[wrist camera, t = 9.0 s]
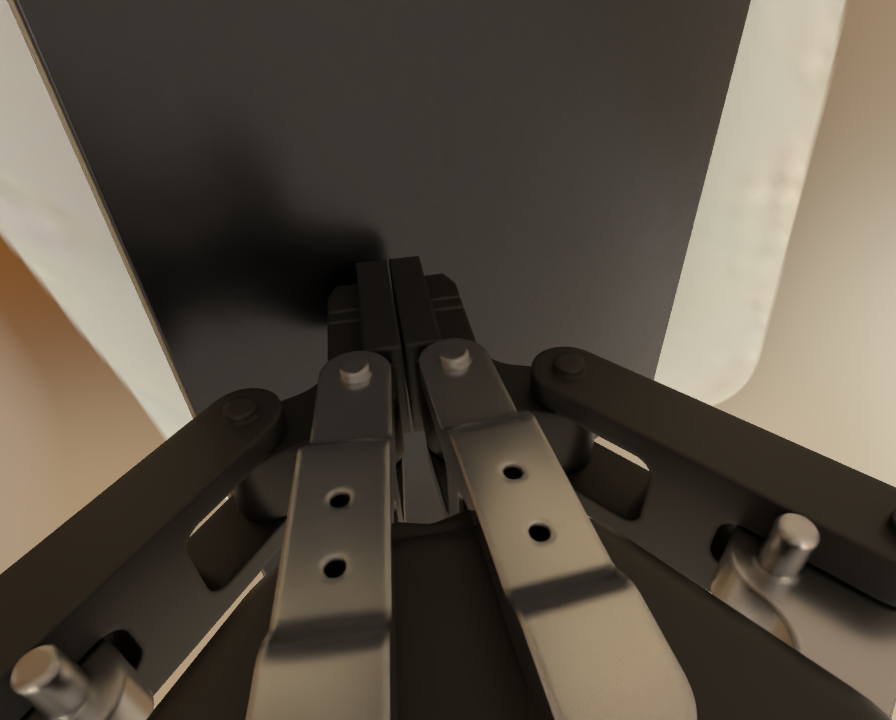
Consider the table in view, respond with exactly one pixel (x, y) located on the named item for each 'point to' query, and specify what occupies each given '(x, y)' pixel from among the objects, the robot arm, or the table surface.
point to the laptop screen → (391, 168)
